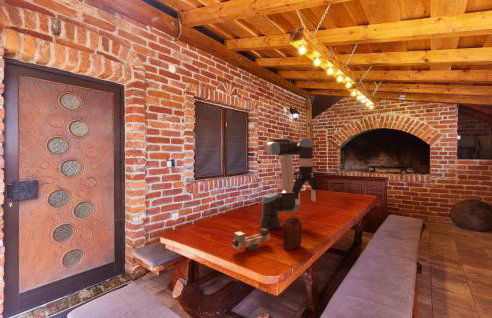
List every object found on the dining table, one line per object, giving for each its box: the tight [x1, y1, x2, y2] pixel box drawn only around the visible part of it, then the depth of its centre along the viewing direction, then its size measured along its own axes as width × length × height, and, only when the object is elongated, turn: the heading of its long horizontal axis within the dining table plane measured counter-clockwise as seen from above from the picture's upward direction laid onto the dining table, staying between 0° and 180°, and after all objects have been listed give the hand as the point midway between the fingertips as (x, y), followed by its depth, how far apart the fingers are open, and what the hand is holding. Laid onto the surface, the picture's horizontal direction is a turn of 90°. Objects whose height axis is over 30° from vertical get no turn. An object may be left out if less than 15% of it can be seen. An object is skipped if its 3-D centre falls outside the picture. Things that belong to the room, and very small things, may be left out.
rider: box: [233, 230, 246, 242], centre depth 140 cm, size 4×5×5 cm
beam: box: [231, 228, 271, 252], centre depth 145 cm, size 23×6×9 cm, turn 124°
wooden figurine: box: [281, 215, 303, 250], centre depth 146 cm, size 12×6×18 cm, turn 123°
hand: (305, 202), depth 145 cm, fingers open, 13 cm apart
